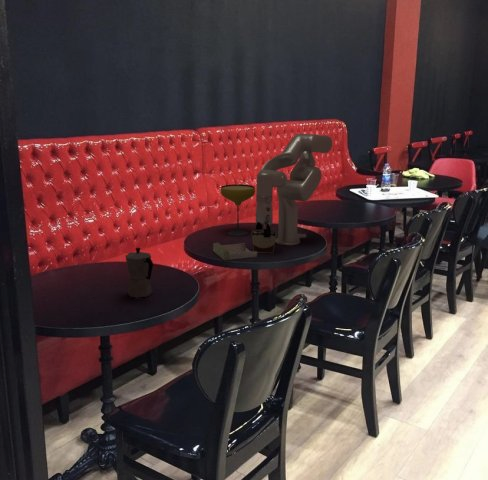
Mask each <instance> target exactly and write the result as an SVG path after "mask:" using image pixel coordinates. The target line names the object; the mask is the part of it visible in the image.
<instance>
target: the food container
mask: <svg viewBox="0 0 488 480" xmlns="http://www.w3.org/2000/svg"><path fill="white" fill-rule="evenodd" d="M264 229H265V228H262V229H259V230H256V229H255V230H252V231H251V233H250V237H252V239H251V241H252V249H253V250H252V251H257V254H259V253H260V254H261V253H262V254H274V251H275V244H276V243H275V239H276V238H277V237H278V233H277V232H276V230H273V229H271V236H270V237H268V238H264Z"/></svg>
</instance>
